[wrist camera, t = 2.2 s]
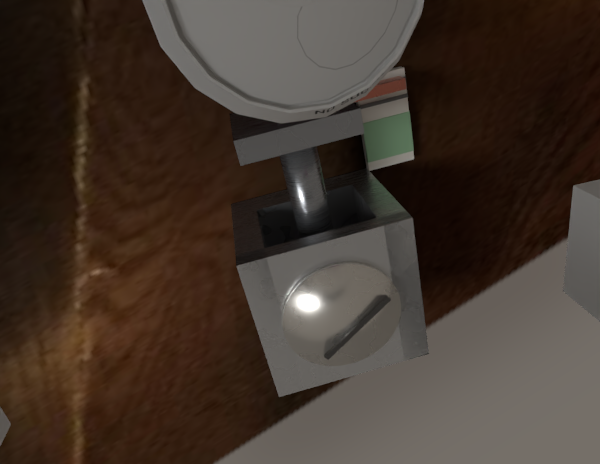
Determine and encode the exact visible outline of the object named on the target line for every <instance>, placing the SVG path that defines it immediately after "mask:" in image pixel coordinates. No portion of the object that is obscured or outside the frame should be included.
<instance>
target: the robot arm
mask: <svg viewBox="0 0 600 464" xmlns="http://www.w3.org/2000/svg"><path fill="white" fill-rule="evenodd" d="M563 291H564V292H565V293H566V294H567V295H569V296H570V297H571V298H572V299H573V300H575V301H576V302H577V303H578V304H579V305H581V306H582V307H583V308H584V309H585V310H587V311H588V312H589V313H590V314H591V315H593V316H594V317H595V318H596V319H597V320H599V321H600V180H596V181H591V182H587V183H582V184H578V185H573V194H572V204H571V215H570V225H569V235H568V245H567V256H566V266H565V277H564V286H563ZM10 425H11V423H10V422H9V420H8V419H7V417H6V415H5V414H4V412H3V411H2V409H1V407H0V445H1V443H2V441H3V439H4V437H5V435H6V433H7V431H8V429H9V427H10Z"/></svg>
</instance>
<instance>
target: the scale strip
mask: <svg viewBox="0 0 600 464" xmlns="http://www.w3.org/2000/svg"><path fill="white" fill-rule="evenodd" d="M397 76H401V77H403V78H405V80H406V76H405V70H404V67H401V66H400V67H396V68H392V69H391V70H390V71H389V72H388V73H387V74H386V75H385V76H384V77H383V78H382V79H381V80H385V79H389V78H393V77H397ZM381 80H380V81H381ZM356 105H357V106H358V107H359V108H361V114H362V121H363V127H364V134H361V137H362V143H363V149H364V156H365V162H366V168H367V169H368V170H369V171H371V170H375V169H379V168H383V167H386V166H390V165H394V164H398V163H401V162H405V161H409V160H413V159H414V152H413V151H414V147H413V138H412V129H411V120H410V112H409V106H408V93H407V88H406V89H405V90H401V91H397V92H393V93H389V94H385V95H381V96H378V97H374V98H370V99H366V100H362V101H358V102H356Z"/></svg>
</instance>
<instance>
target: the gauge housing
mask: <svg viewBox="0 0 600 464" xmlns="http://www.w3.org/2000/svg"><path fill="white" fill-rule="evenodd" d="M324 184H325V189H326V194H327V198H328V203H329V208H330V213H331V218H332V223H333V228H334V230H330V231H326V232H323V233H319V234H315V235H312V236H308V237H304V238H301V239H300V237H299V233H298V229H297V225H296V221H295V217H294V213H293V209H292V204H291V200H290V196H289V192H288V189H286V190H282V191H279V192H275V193H271V194H267V195H264V196H260V197H256V198H252V199H249V200H245V201H241V202H237V203H233V204H231V210H232V221H233V233H234V244H235V255H236V266H237V269H238V272H239V275H240V278H241V282H242V285H243V288H244V291H245V294H246V297H247V300H248V303H249V306H250V309H251V312H252V315H253V318H254V321H255V324H256V328H257V331H258V334H259V337H260V340H261V343H262V346H263V349H264V352H265V355H266V358H267V361H268V364H269V367H270V371H271V374H272V377H273V380H274V383H275V386H276V389H277V392H278V395H279V397H281V396H284V395H288V394H291V393H295V392H298V391H302V390H305V389H309V388H312V387H315V386H319V385H322V384H326V383H329V382H333V381H336V380H340V379H343V378H347V377H350V376H354V375H357V374H361V373H364V372H368V371H371V370H374V369H378V368H381V367H384V366H388V365H392V364H395V363H399V362H402V361H406V360H409V359H413V358H416V357H420V356H423V355H427V354H429V353H428V344H427V336H426V327H425V319H424V310H423V301H422V293H421V284H420V276H419V267H418V259H417V250H416V242H415V233H414V225H413V218H412V217H411V215H410V214H409V213H408V212H407V211H406V210H405V209H404V208H403V207H402V206H401V205H400V204H399V203H398V202H397V200H396V199H395V198H394V197H393V196H392V195H391V194H390V193H389V192H388V191H387V190H386V189H385V188H384V186H383V185H382V184H381V183H380V182H379V181H378V180H377V179H376V178H375V177H374V176H373V175H372V174H371V172H370V171H369V170H368V169H367V168H365V169H361V170H358V171H354V172H350V173H346V174H343V175H339V176H335V177H331V178H328V179H324Z"/></svg>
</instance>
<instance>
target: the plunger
mask: <svg viewBox="0 0 600 464" xmlns="http://www.w3.org/2000/svg"><path fill="white" fill-rule="evenodd" d="M405 89H406V80H405V78H403V77H401V76H397V77H393V78H389V79H385V80H381V81H380V82H379V83H378V84H377V85H376V86H375V87H374V88H373V89H372V90H371V91H370V92H369V93H368V94H367V95H366V96H365V97H363V98H361V99H359V100H357V101H355V102H358V101H362V100H366V99H370V98H374V97H378V96H381V95H385V94H389V93H393V92H397V91H401V90H405ZM230 121H231V128H232V135H233V141H234V145H235V148H236V152H237V155H238V159H239V162H240V166H242V165H246V164H249V163H253V162H257V161H261V160H265V159H269V158H272V157H276V156H280V160H281V164H282V168H283V172H284V176H285V180H286V184H287V188H288V192H289V196H290V200H291V204H292V209H293V213H294V217H295V221H296V225H297V229H298V233H299V237H300V239H301V238H304V237H308V236H312V235H315V234H319V233H323V232H326V231H330V230H334V228H333V223H332V218H331V213H330V208H329V203H328V198H327V194H326V189H325V184H324V179H323V174H322V169H321V164H320V160H319V155H318V150H317V146H318V145H322V144H326V143H330V142H333V141H337V140H341V139H345V138H349V137H353V136H356V135H360V134H364V127H363V121H362V114H361V108H359V107H358V106H357V105H355V104H354V102H353V103H352V104H350V105H348V106H346V107H344V108H342V109H340V110H338V111H336V112H335V113H333V114H331V115H329V116H327V117H323V118H316V119H309V120H302V121H295V122H288V123H277V122H272V121H267V120H263V119H258V118H253V117H249V116H244V115H239V114H236V113H231V114H230Z"/></svg>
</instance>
